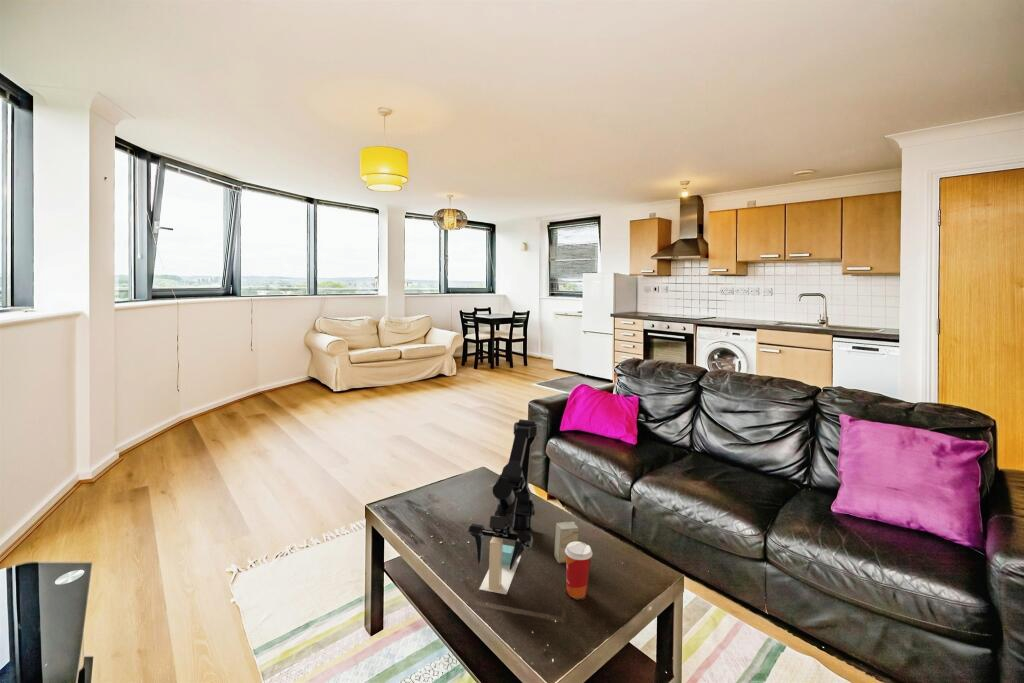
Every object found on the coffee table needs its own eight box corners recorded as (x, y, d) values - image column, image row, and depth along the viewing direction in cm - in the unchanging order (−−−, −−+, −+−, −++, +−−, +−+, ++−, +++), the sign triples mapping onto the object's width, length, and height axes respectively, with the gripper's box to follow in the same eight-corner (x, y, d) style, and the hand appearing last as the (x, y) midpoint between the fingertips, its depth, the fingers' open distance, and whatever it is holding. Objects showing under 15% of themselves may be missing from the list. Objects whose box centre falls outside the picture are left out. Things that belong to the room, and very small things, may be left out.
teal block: (501, 556, 149) (501, 544, 149) (513, 558, 148) (514, 546, 148) (498, 563, 145) (498, 551, 145) (510, 565, 144) (511, 553, 144)
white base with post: (496, 554, 151) (498, 510, 150) (521, 558, 150) (522, 514, 148) (478, 592, 133) (480, 542, 131) (506, 597, 131) (507, 547, 129)
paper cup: (572, 581, 139) (574, 537, 137) (595, 593, 134) (597, 547, 132) (557, 594, 133) (559, 548, 131) (580, 607, 128) (583, 559, 126)
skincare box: (558, 566, 146) (560, 529, 145) (553, 558, 151) (555, 522, 149) (577, 563, 148) (579, 527, 147) (571, 555, 152) (573, 520, 151)
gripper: (470, 497, 138) (456, 553, 128) (532, 506, 133) (523, 564, 124) (478, 511, 146) (465, 564, 137) (536, 519, 142) (528, 575, 133)
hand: (494, 566), depth 132 cm, fingers open, 9 cm apart
